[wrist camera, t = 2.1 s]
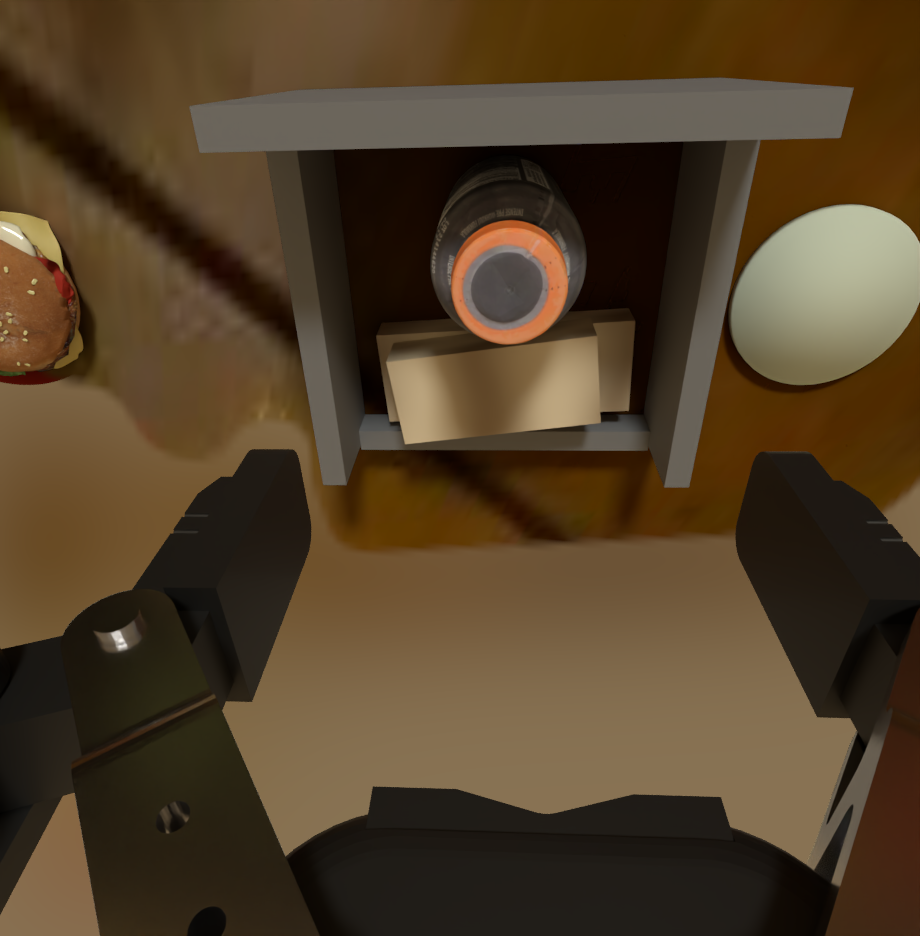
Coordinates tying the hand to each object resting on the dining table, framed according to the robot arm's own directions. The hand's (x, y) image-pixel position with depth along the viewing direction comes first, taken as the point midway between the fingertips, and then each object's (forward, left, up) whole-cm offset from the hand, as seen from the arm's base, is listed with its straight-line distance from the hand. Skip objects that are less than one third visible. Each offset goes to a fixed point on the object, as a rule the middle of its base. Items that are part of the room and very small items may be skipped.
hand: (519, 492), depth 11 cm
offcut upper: (0, +7, -21) cm, 22 cm away
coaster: (-16, +4, -23) cm, 28 cm away
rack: (0, +3, -23) cm, 23 cm away
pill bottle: (0, 0, -23) cm, 23 cm away
